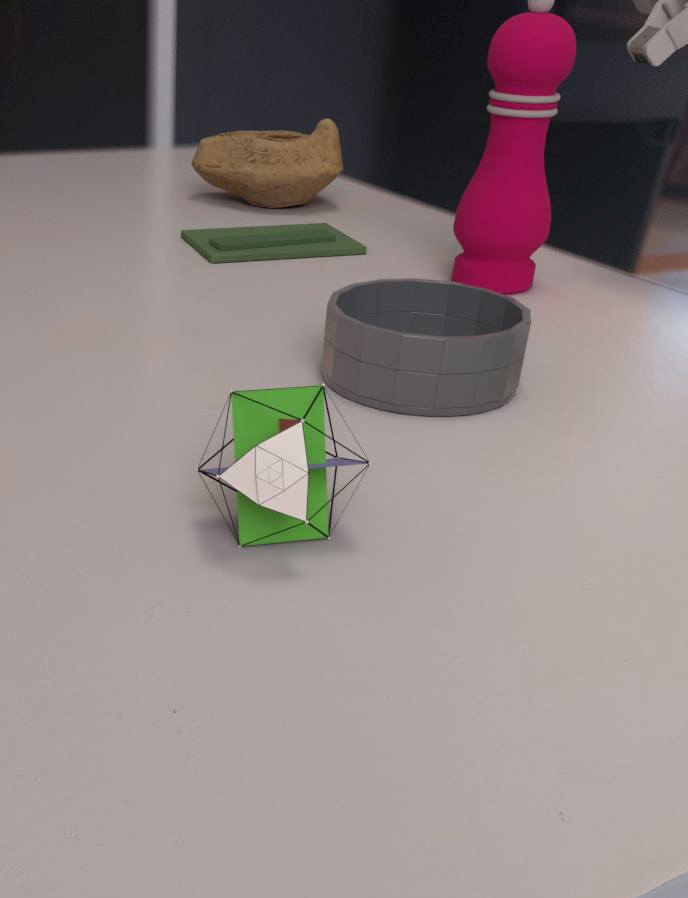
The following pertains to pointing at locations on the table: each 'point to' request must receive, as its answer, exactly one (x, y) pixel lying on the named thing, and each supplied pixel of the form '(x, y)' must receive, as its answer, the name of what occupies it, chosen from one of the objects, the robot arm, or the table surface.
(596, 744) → the table surface
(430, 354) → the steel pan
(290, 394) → the geometric puzzle
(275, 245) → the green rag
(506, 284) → the pepper mill
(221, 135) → the oil lamp
